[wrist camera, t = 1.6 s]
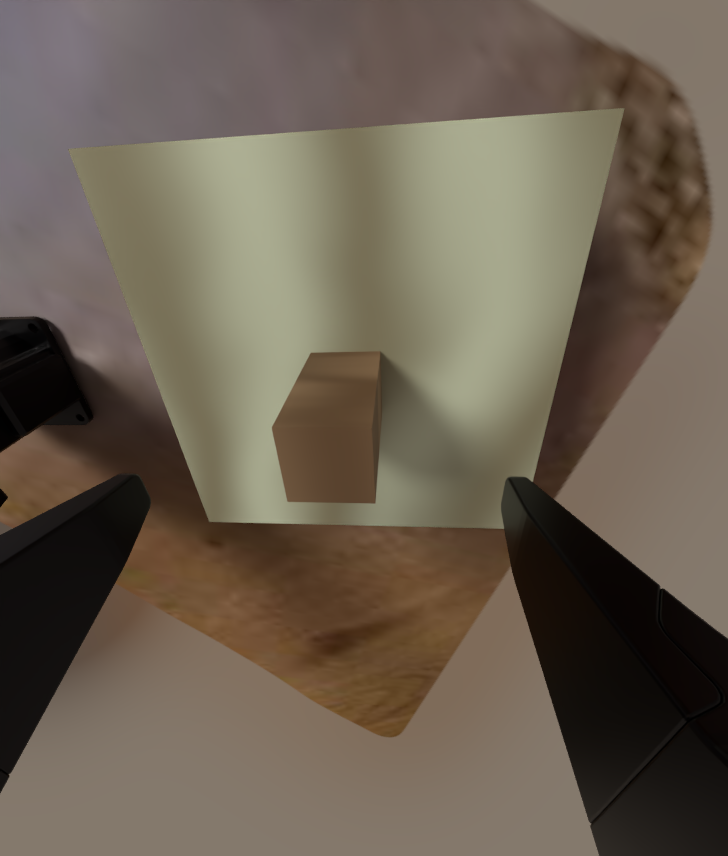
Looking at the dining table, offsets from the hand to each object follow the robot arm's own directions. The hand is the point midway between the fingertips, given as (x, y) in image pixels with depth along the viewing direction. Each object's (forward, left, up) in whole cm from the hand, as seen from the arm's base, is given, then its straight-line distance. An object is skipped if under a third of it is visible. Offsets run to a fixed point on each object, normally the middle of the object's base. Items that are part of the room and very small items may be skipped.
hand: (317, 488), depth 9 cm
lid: (0, 0, -6) cm, 6 cm away
